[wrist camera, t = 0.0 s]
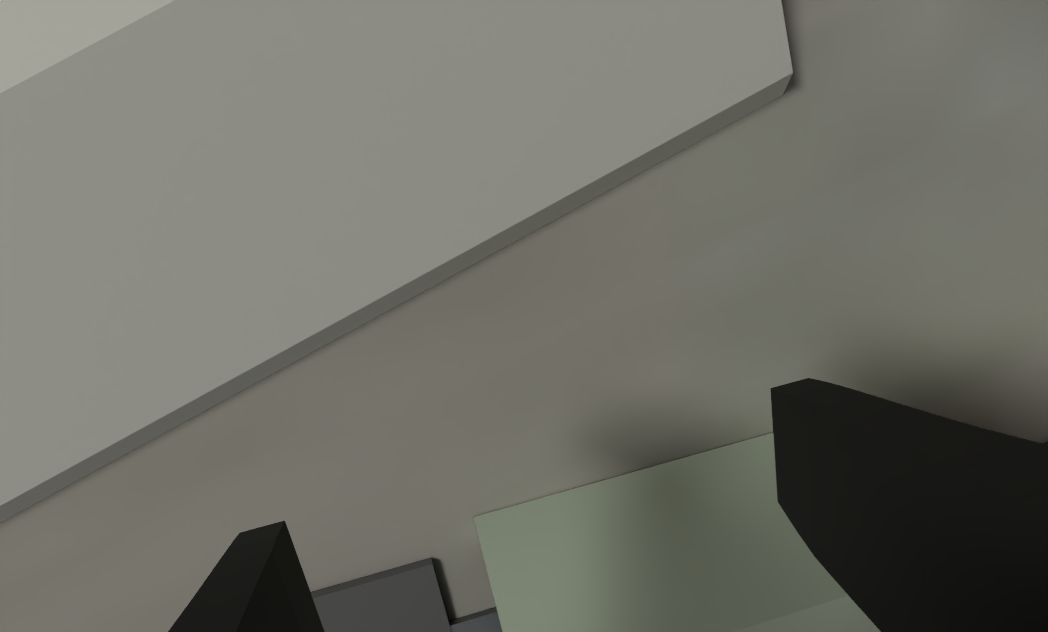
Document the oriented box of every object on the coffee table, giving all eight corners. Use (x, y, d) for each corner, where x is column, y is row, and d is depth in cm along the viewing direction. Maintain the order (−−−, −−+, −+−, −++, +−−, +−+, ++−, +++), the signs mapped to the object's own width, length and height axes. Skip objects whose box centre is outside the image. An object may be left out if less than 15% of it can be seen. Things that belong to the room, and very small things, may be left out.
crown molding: (-177, 615, 20) (-279, 727, 17) (-662, 221, 16) (-934, 270, 12) (772, 85, 21) (850, 94, 18) (587, -452, 16) (648, -577, 13)
